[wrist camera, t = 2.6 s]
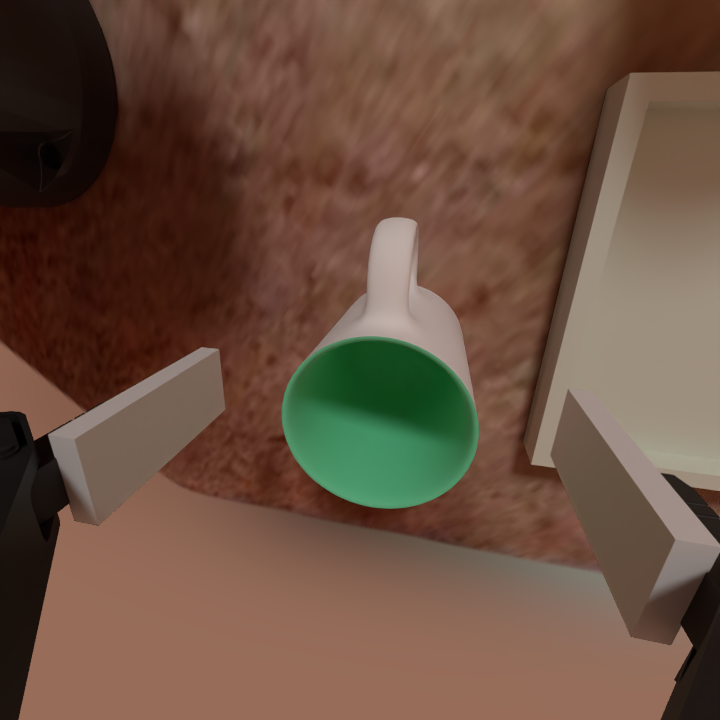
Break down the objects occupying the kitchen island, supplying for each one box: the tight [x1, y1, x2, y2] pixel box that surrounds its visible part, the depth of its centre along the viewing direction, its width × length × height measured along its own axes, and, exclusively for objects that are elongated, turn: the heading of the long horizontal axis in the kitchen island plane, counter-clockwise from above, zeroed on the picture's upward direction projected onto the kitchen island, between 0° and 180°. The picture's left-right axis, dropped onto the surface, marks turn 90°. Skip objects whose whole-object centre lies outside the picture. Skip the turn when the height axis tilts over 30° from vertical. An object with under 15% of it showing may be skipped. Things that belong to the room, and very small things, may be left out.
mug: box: [282, 218, 479, 509], centre depth 20 cm, size 12×8×10 cm, turn 2°
